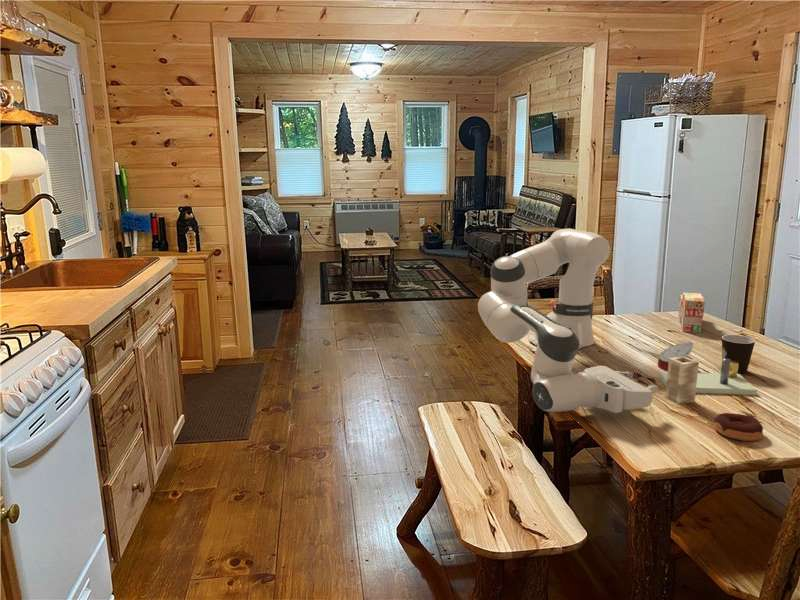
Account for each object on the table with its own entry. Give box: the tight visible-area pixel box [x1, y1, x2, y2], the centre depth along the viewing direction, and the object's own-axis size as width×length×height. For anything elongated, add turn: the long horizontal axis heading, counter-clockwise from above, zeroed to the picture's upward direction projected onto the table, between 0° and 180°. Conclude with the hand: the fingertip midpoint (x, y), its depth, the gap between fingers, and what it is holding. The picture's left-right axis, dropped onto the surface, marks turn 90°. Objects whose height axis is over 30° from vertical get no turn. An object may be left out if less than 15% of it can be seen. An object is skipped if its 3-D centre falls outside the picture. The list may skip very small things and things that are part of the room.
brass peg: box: [729, 361, 739, 378], centre depth 167 cm, size 3×3×4 cm
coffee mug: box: [721, 334, 756, 376], centre depth 176 cm, size 12×9×10 cm
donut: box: [713, 412, 764, 442], centre depth 137 cm, size 10×10×4 cm
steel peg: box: [720, 358, 731, 385], centre depth 162 cm, size 2×2×7 cm
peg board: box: [657, 370, 758, 396], centre depth 165 cm, size 22×12×2 cm, turn 82°
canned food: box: [657, 341, 694, 372], centre depth 179 cm, size 11×10×10 cm
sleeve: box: [664, 356, 700, 405], centre depth 155 cm, size 5×5×11 cm
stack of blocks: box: [678, 292, 706, 334], centre depth 222 cm, size 21×6×12 cm, turn 160°
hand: (642, 381), depth 151 cm, fingers open, 8 cm apart
